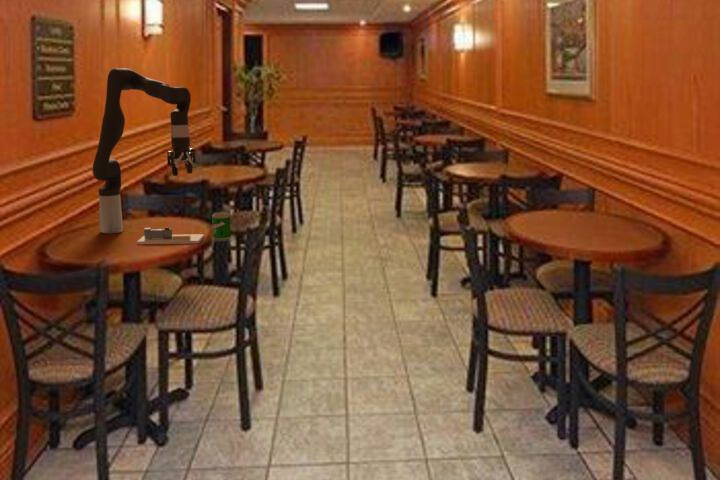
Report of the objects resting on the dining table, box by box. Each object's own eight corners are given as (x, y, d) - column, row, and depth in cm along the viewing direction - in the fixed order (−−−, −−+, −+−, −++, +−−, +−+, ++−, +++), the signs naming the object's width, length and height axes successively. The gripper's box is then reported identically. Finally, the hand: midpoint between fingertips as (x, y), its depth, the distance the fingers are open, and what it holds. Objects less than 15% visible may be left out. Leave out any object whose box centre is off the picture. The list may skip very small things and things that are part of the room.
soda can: (222, 237, 337) (221, 210, 334) (234, 239, 332) (233, 212, 330) (209, 240, 331) (208, 213, 328) (221, 242, 326) (219, 215, 324)
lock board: (137, 244, 325) (136, 237, 324) (145, 237, 338) (144, 230, 337) (198, 243, 325) (198, 236, 325) (204, 236, 338) (203, 230, 337)
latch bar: (173, 236, 331) (172, 226, 331) (171, 238, 328) (170, 228, 327) (146, 237, 331) (145, 227, 330) (144, 239, 327) (143, 229, 326)
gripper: (185, 134, 327) (187, 172, 330) (161, 136, 315) (163, 176, 318) (198, 134, 323) (200, 173, 326) (174, 137, 311) (177, 177, 314)
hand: (182, 174), depth 322 cm, fingers open, 8 cm apart
